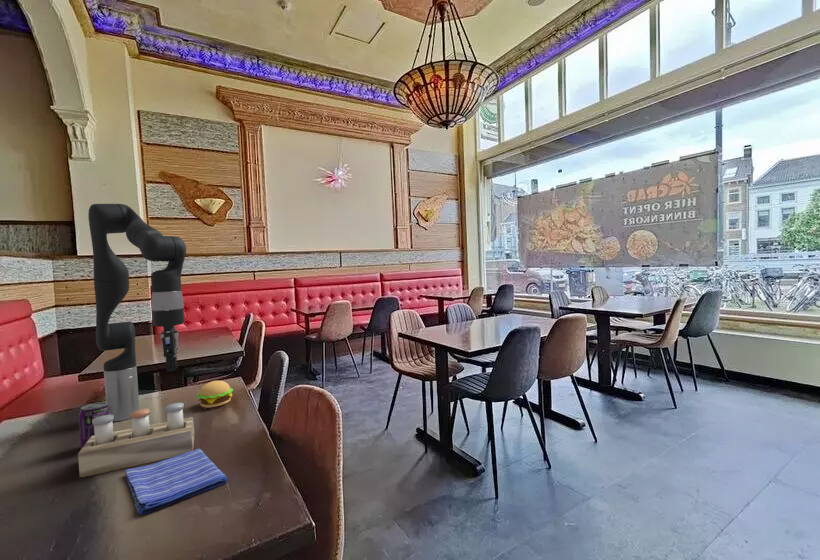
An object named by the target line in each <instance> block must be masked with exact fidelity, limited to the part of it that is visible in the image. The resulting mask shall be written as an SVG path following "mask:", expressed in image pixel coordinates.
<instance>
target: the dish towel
mask: <svg viewBox="0 0 820 560" xmlns="http://www.w3.org/2000/svg"><path fill="white" fill-rule="evenodd" d="M125 476H126V477H125V478H126V481H127V484H128V487H129V489H130V492H131V494H132V498H133V497H134V498H133V500H135V501H136V502H135V501H134V506H135V508H136V511H137V513H138V515H141V516H143V515H144V514H145V515H147V514H149V513H152V512H155V511H157V510H160V509H162V507H163V508H165V507H168V506H171V505H173V504H176V503H179V502H180V501H183V500H186V499H190V498H191V497H193V496H196V495H199V494H202V493H205V492H207V491H210V490H212V489H214V488H217V487H220V486H224V485H225V484H226V483H227V482H228V477H227V476H226V474H225V473H223V471H222V470H221V469H220V468H218V467H217V465H216V464H215V463H214V462H213V461H212V460H211V459H210V457H208V456H207V454H205V452H204V451H203V450H202V449H201V448H195V449H193V451H190V452H187V453H184V454H181V455H178V456H175V457H171V458H167V459H162V460H159V461H158V462H155V463H152V464H148V465H143V466H142V465H141V466H139V467H138V466H137V467H134V468H132V467H131V468H128V469H125ZM156 509H157V510H156ZM154 510H155V511H154Z"/></svg>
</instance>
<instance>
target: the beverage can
mask: <svg viewBox="0 0 820 560" xmlns="http://www.w3.org/2000/svg"><path fill="white" fill-rule="evenodd" d="M104 415H111V412H110V407H109V406H108V402H106V401H99V402H94V403H93V402H92V403H89V404H86V405H83V406H81V407H80V412H79V414H78V421H79V424H78V425H79V434H80V436H79V437H80V450H81V449H82V448H83V447H84V445H85V444H86V443H87V441H88V440H89V439H90V438H91V436H95V431H94V425H93V424H92V420H93V419H94V418H97V417H100V416H104Z"/></svg>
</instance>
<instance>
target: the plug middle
mask: <svg viewBox="0 0 820 560" xmlns="http://www.w3.org/2000/svg"><path fill="white" fill-rule="evenodd" d="M150 414H151V409H150V408H139V410H135V411H133V412H131V413H130V419H131V425H132V427H131V429H132V430H133V438H136V437H141V436H146V435H150V425H151V424H150Z"/></svg>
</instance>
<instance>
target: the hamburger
mask: <svg viewBox="0 0 820 560" xmlns="http://www.w3.org/2000/svg"><path fill="white" fill-rule="evenodd" d="M233 391H234V389H233V388H232V387H231V386H230V385H229V383H227V382H225V381H222V380H212V381H210V382H207V383H205V384H204V385H202V387H200V390H199V392H198V393H197V395H196V397H197V399H198V401H199V402H200V404H199V405H200V407H201V406H202V407H201V408H203V407H215V406H220V405H223V404H226V403H228V402H229V401H230V402H231V398H232V397H233V393H232V392H233ZM230 402H229V403H230ZM229 403H228V404H229Z"/></svg>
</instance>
